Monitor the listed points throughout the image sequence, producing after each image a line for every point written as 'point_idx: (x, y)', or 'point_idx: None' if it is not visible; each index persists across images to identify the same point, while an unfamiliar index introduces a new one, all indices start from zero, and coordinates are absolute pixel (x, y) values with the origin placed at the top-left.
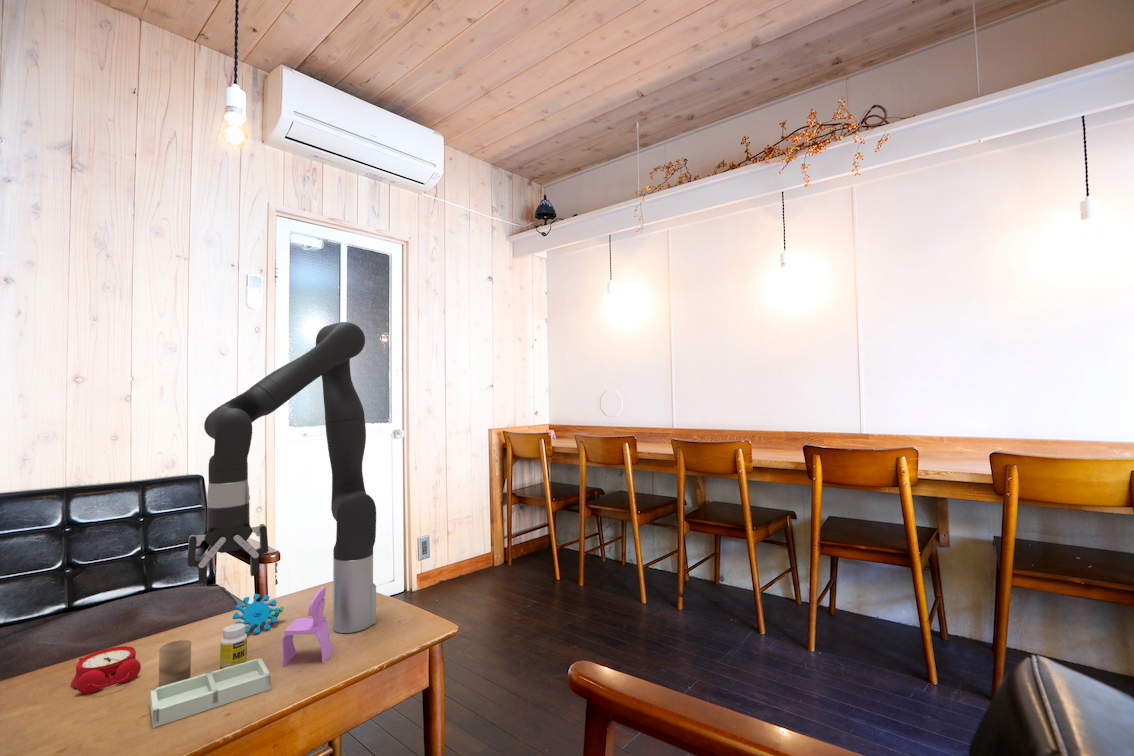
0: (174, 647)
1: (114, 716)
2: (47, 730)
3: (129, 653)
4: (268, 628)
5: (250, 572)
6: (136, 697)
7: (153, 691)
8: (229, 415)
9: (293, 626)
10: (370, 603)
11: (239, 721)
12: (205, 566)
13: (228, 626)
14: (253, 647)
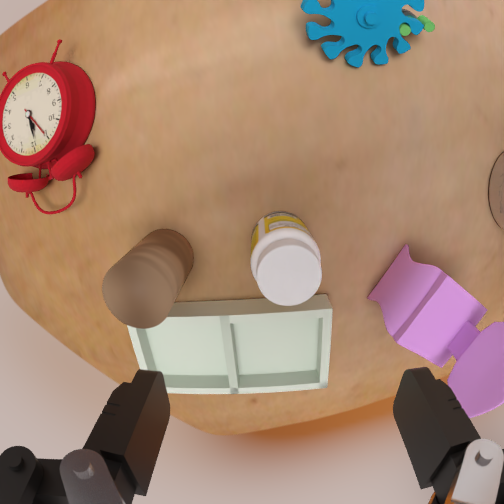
0: (134, 307)
1: (92, 304)
2: (27, 283)
3: (60, 104)
4: (382, 63)
5: (407, 381)
6: (107, 255)
7: (131, 328)
8: None
9: (421, 324)
10: None
11: (265, 421)
12: (133, 493)
13: (274, 257)
14: (336, 145)
